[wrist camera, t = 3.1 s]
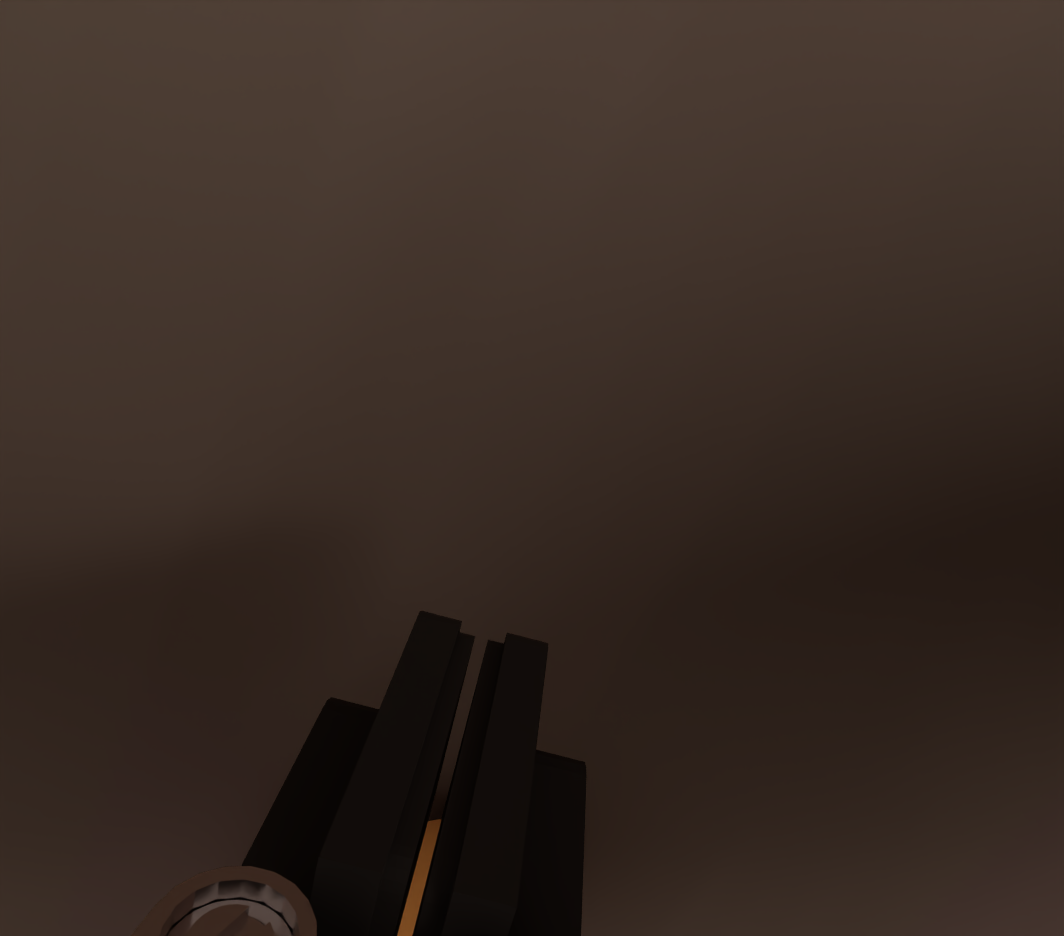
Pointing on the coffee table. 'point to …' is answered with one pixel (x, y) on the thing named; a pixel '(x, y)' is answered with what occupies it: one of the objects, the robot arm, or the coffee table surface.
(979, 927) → the coffee table surface
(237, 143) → the coffee table surface
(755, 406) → the coffee table surface
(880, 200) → the coffee table surface
